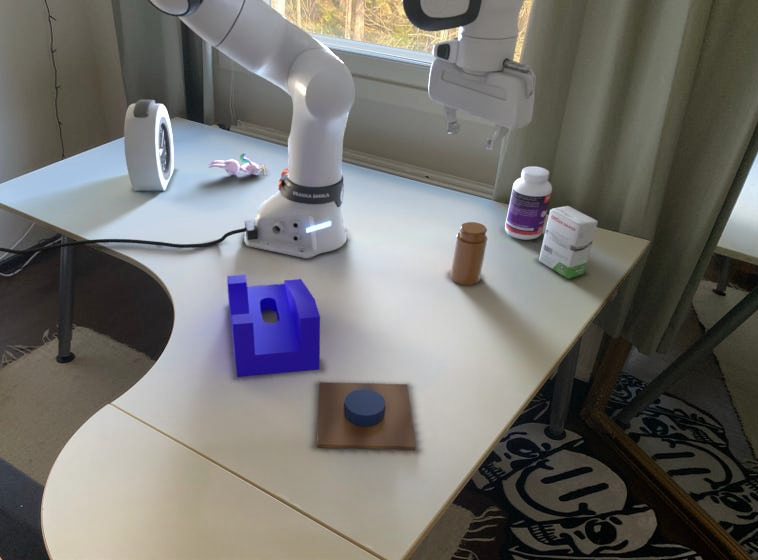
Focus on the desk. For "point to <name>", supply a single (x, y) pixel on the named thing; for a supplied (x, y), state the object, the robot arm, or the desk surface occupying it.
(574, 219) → the ink box
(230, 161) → the rabbit figure
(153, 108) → the alarm clock
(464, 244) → the jar
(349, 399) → the lid
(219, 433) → the desk surface
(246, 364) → the bracket
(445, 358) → the desk surface
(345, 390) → the coaster
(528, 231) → the pill bottle
